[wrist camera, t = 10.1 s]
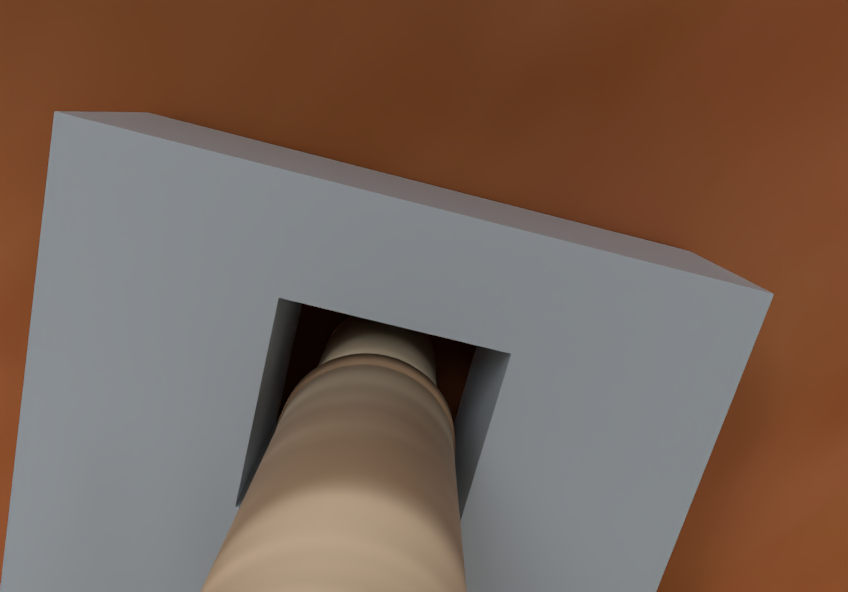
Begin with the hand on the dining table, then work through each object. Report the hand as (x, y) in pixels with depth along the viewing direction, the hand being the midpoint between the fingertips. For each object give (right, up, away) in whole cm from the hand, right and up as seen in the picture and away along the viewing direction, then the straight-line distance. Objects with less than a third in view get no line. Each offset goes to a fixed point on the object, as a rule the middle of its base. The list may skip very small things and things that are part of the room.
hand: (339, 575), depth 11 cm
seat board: (-1, -2, +12) cm, 12 cm away
